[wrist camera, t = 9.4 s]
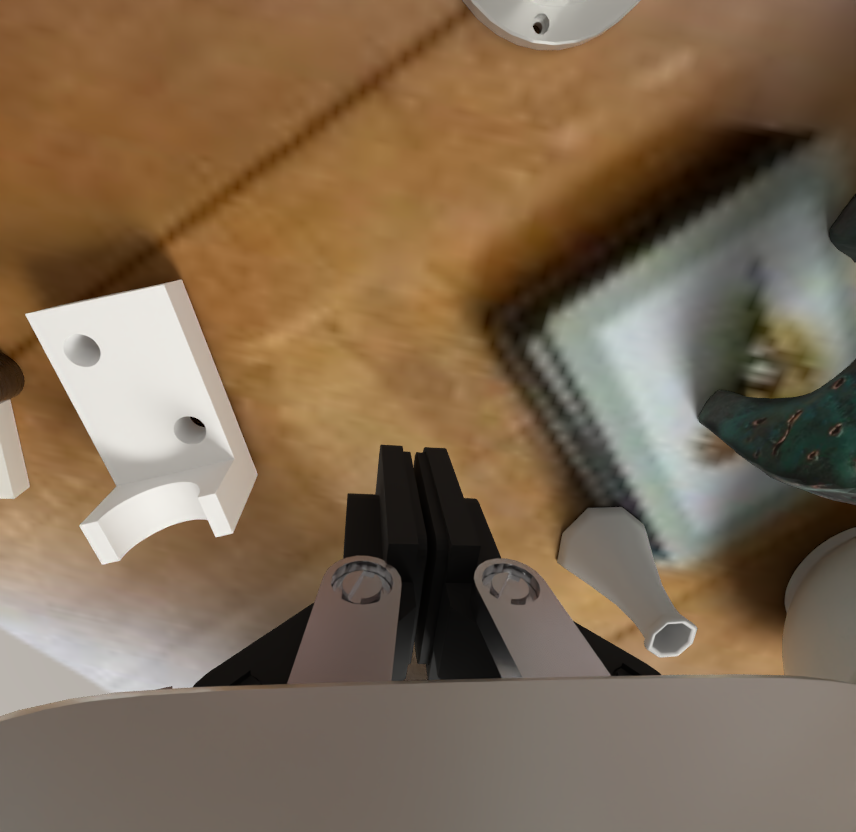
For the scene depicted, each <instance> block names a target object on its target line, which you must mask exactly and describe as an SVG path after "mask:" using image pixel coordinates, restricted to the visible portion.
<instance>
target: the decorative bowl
mask: <svg viewBox="0 0 856 832" xmlns="http://www.w3.org/2000/svg"><path fill="white" fill-rule="evenodd" d="M785 608H786V612H787V616H786V620H785V624H784V630H783V639H782V658H783V668H784V674H785V675H789V676H806V677H815V678H825V679H832V680H837V681H842V682H847V683H852V684H856V527H854V528H851V529H848V530H846V531H843V532H841V533H839V534H837V535H835V536H833V537H831V538H830V539H828V540H826V541H825V542H823V543H822V544H821V545H819V546H818V547H817V548H815V549H814V550H813V551H812V552H811V553H810V554H809V555H808V556H807V557H806V558H805V559H804V560H803V561H802V562H801V564H800V565H799V566H798V567H797V569H796V570H795V572H794V573H793V575H792V577H791V579H790V581H789V583H788V586H787V589H786V593H785Z"/></svg>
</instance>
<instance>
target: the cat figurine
mask: <svg viewBox="0 0 856 832" xmlns="http://www.w3.org/2000/svg"><path fill="white" fill-rule="evenodd" d="M830 238H831V242H832V243H833V244H834V245H835V246H836V247H837V249H838V250H840V251H841V252H843V253H844V254H846V255H848V256H849V257H851V258H852V259H853V260H854V262H856V195H855V196H854V197H853V199H852V200H851V201H850V203H849V204H848V205H847V207H846V208H845V209H844V211H843V212H842V213H841V215H840V216H839V217H838V219H837V220H836V222H835V223H834V224H833V226H832V228H831V230H830ZM698 420H699V422H700V423H701V424H703V425H704V426H705V427H707V428H708V429H709V430H711V431H712V432H713V433H714V434H715V435H717V436H718V437H719V438H720V439H721V440H723V441H724V442H725V443H726V444H727V445H729V446H730V447H731V448H733V449H734V450H735V451H736V453H738V454H739V455H740V456H742V457H743V458H744V459H746V460H747V461H749V462H750V463H751V464H753V465H754V466H756V467H757V468H759V469H761V470H762V471H763V472H764V473H766V474H767V475H768V476H770V477H771V478H773V479H776V480H778V481H780V482H782V483H785V484H787V485H790V486H793V487H796V488H800V489H802V490H805V491H807V492H810V493H812V494H815V495H818V496H820V497H824V498H827V499H831V500H835V501H840V502H845V503H850V504H854V505H856V359H855V360H854V361H853V362H852V363H851V364H850V365H849V366H848V367H847V368H846V369H845V370H843V371H842V372H841V373H840V374H839V375H837V376H836V377H835V378H833V379H832V380H831V381H829V382H828V383H826V384H825V385H824V386H822V387H821V388H819V389H817V390H815V391H814V392H812V393H809V394H806V395H803V396H799V397H791V398H775V399H769V398H752V397H746V396H743V395H740V394H737V393H734V392H731V391H726V390H719V391H717V392H716V393H715V394H714V395H713V396H711V397H710V398H709V400H708V401H707V402H706V404H705V406H704V408H703V409H702V411H701V413H700V416H699V418H698Z"/></svg>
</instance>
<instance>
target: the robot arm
mask: <svg viewBox="0 0 856 832" xmlns="http://www.w3.org/2000/svg"><path fill="white" fill-rule="evenodd" d="M462 1H463V2H464V3H465V4H466V6H467V7H468V8H469V9H470V10H471V12H472V13H473V14H474V15H475V17H476V18H477V19H478V20H479V21H481V22H482V23H483V24H484V25H485V26H487V27H488V28H489V29H490V30H491V31H493V32H494V33H495V34H496V35H498V36H500V37H502V38H504V39H506V40H508V41H510V42H512V43H514V44H516V45H519V46H523V47H527V48H531V49H535V50H562V49H566V48H570V47H574V46H578V45H581V44H583V43H585V42H587V41H590V40H592V39H594V38H596V37H598V36H600V35H601V34H603V33H604V32H605V31H607V30H608V29H609V28H611V27H612V26H613V25H615V24H616V23H617V22H619V21H620V20H621V19H622V18H623V17H624V16H625V15H626V14H627V13H628V12H629V11H631V10H632V9H633V8H634V7H635V6H636V5H637V4H638V3H639V1H640V0H462ZM534 25H536V26H538V28H539V34H537V33H536V32H535V31H534V29H533V26H534ZM414 641H415V650H416V658H417V663H418V664H426V669H427V676H428V680H410V681H403V680H404V679H405V678H406V673H407V667H408V664H410V663H411V659H412V652H413V646H414ZM0 832H856V684H852V683H847V682H842V681H837V680H832V679H825V678H815V677H806V676H789V675H745V674H725V675H661V674H660V673H659V672H657V671H656V670H655V669H653V668H652V667H650V666H649V665H648V664H646V663H644V662H643V661H641V660H639V659H637V658H636V657H634V656H632V655H631V654H629V653H627V652H625V651H624V650H622V649H620V648H619V647H617V646H615V645H613V644H612V643H610V642H608V641H606V640H605V639H603V638H601V637H600V636H598V635H596V634H594V633H593V632H591V631H589V630H588V629H586V628H584V627H582V626H581V625H579V624H577V623H576V622H574V621H572V619H571V618H570V616H569V615H568V613H567V612H566V610H565V609H564V608H563V606H562V605H561V603H560V602H559V600H558V599H557V598H556V596H555V595H554V593H553V592H552V590H551V589H550V588H549V586H548V585H547V583H546V582H545V580H544V579H543V578H542V577H541V576H540V575H539V574H538V573H537V572H536V571H535V570H533V569H532V568H530V567H529V566H527V565H525V564H523V563H521V562H518V561H515V560H510V559H501V556H500V554H499V551H498V549H497V547H496V544H495V542H494V539H493V537H492V534H491V532H490V529H489V527H488V524H487V522H486V519H485V517H484V514H483V512H482V509H481V507H480V504H479V502H478V501H477V499H470V498H464V497H463V494H462V492H461V489H460V486H459V483H458V480H457V477H456V475H455V472H454V469H453V466H452V463H451V461H450V458H449V455H448V452H447V450H446V449H445V448H428V447H425V448H424V450H423V453H419V452H416V455H415V460H414V468H413V463H412V458H411V453H410V452H403V447H402V446H394V445H381V446H380V453H379V463H378V474H377V484H376V495H373V494H348V497H347V511H346V526H345V540H344V555H343V559H342V560H340V561H337V562H335V563H334V564H333V565H332V566H331V567H329V568H328V569H327V571H326V573H325V575H324V576H323V579H322V582H321V585H320V588H319V591H318V594H317V597H316V600H315V602H314V603H313V604H311V605H310V606H308V607H307V608H305V609H304V610H302V611H301V612H299V613H298V614H296V615H295V616H293V617H291V618H290V619H288V620H287V621H285V622H284V623H282V624H281V625H279V626H278V627H276V628H275V629H273V630H272V631H270V632H269V633H267V634H266V635H264V636H263V637H261V638H260V639H258V640H257V641H255V642H254V643H252V644H251V645H249V646H248V647H246V648H245V649H243V650H242V651H240V652H239V653H237V654H236V655H234V656H233V657H231V658H230V659H228V660H227V661H225V662H224V663H222V664H221V665H219V666H217V667H216V668H214V669H213V670H211V671H210V672H209V673H207V674H206V675H205V676H204V677H203V678H201V679H200V680H199V681H198V682H197V683H196V684H195V685H194V686H193V688H178V689H172V686H171V687H166V688H162V689H157V690H147V691H132V692H117V693H109V694H102V695H96V696H88V697H81V698H74V699H68V700H63V701H59V702H54V703H50V704H45V705H40V706H36V707H31V708H27V709H22V710H18V711H15V712H12V713H9V714H6V715H3V716H0Z"/></svg>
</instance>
